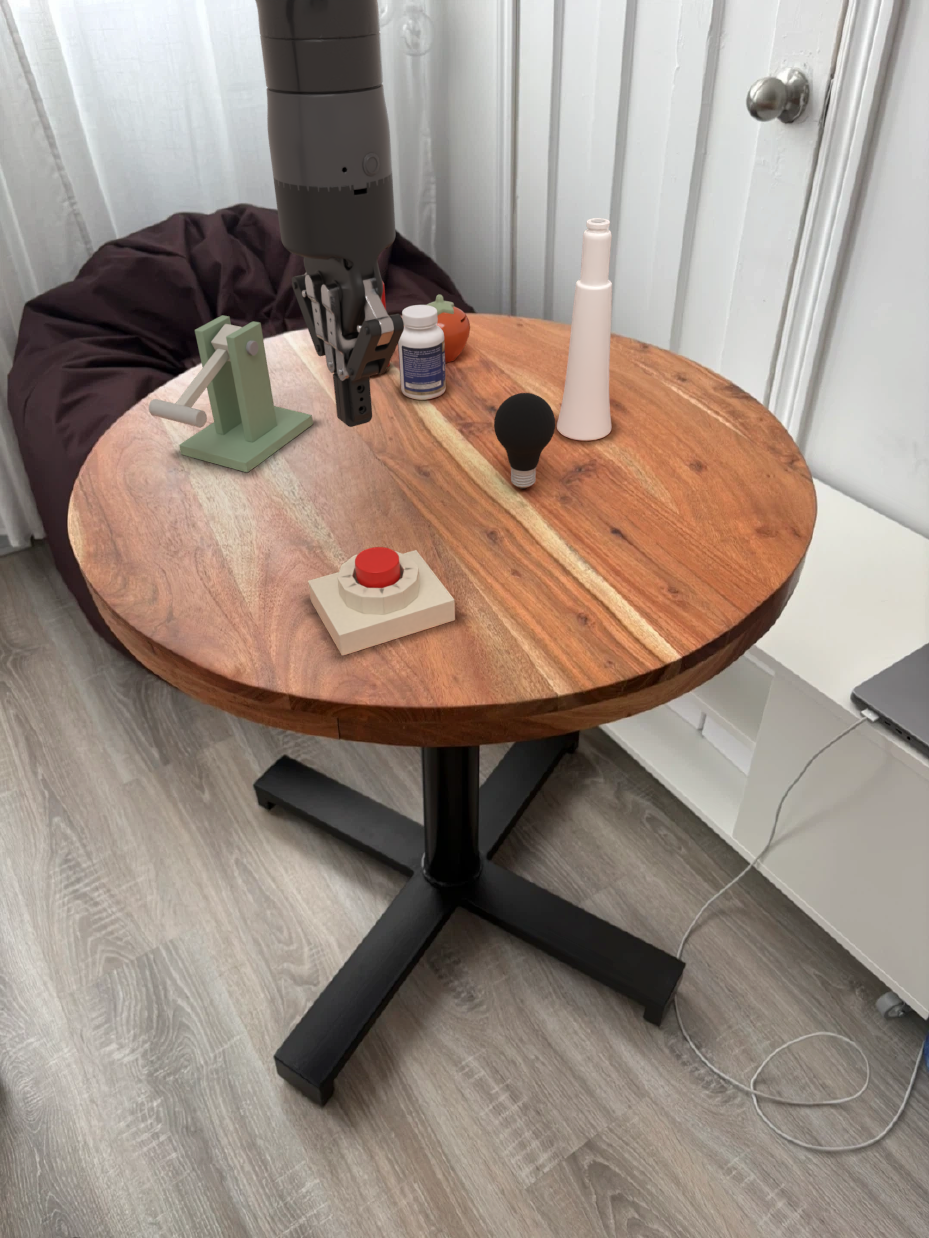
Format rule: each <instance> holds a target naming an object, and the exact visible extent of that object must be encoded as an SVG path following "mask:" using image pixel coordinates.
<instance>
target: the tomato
mask: <svg viewBox="0 0 929 1238" xmlns="http://www.w3.org/2000/svg"><path fill="white" fill-rule="evenodd" d="M426 305H428V306H432V307H434V308H436V309H437V317H438V322H437V324H436V325H437V326H439V327H440V328H441V329H442V331H443V333H444V343H445V364H446V363H451V362H454V361H455V360H456V359H457V358H458V357H459V356H460V355H461V354H462V353H463V351H464V349H465V348H466V345H467V343H468V340H469V337H470V332H471V322H470V320H469V318H468V315H467V314H466V313H465V312H464V310H462V309H460V308H459V307H457V306H455V304H454V302H452V301H448V300H444V296H443V295H442V294H439V293H438V294H437V295H436V297H435V300H433V301H431V302H429V303H427V304H426Z"/></svg>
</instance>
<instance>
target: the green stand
mask: <svg viewBox="0 0 929 1238" xmlns="http://www.w3.org/2000/svg"><path fill="white" fill-rule="evenodd" d="M225 324H229V325H232V323H231V317H230V316H229V315H228V316H227V315H219V317H216V318H214V319H212V320H211V321H209V322H207V323H205V324H203V325H201V326H199V327H198V328H196V329H194V334H195V339H196V343H197V347H198V353H199V357H200V362H201V366H202V367H201V368H203V367H204V365H205V364H206V363H207V362H208V360H209V359H210V358H211V356H212V355H213V354H214V353H215V349H214V347H213V345H212V343H211V341H212V340H213V339H214V337H215V336H216V335H217V334H218V332H219V331H220V330H221V328H222V327H223V326H224V325H225ZM241 327H242V328H240V329H239V330H237V331H235V332H233V333H231V334H230V335H228V336H226V340H227V345H228V351H229V356H230V361H231V362H230V361H226V363H225V364H224V365H223V367H222V368H221V369H220V370H219V372H218V373H217V374H216V376H215V377H214V378H213V380H212V381H211V382H210V384H209V385H208V386H207V388H206V391H207V395H208V401H209V404H210V410H211V414H212V419H213V421H212V423H210V424H209V425H207V426H205V427H204V428H203V429H201V430H200V431H198V432H196V433H195V434H193V435H192V436H190V437H188V438H187V439H185V440H184V441H183V442H181V443H180V444H178V447H179V451H180V455H182V456H186V457H189V458H193V459H196V460H200V461H203V462H207V463H211V464H214V465H218V466H221V467H225V468H229V469H233V470H237V471H241V472H244V473H249V472H250V471H253V469H254V468H256V467H258V466H259V465H260V464H261V463H262V462H264V461H265V460H266V459H268V458H269V457H271V456H272V455H273V454H275V453H276V452H278V451H279V450H280V449H281V448H283V447H284V446H286V445H287V444H289V443H290V442H291V441H293V440H294V439H295V438H296V437H298V436H299V435H301V434H302V433H304V432H305V431H306V430H307V429H308V428H310V427H312V425H313V424H314V421H313V415H312V414H310V413H305V412H301V411H298V410H293V409H289V408H285V407H281V406H277V405H275V403H274V397H273V391H272V386H271V378H270V373H269V366H268V359H267V355H266V354H267V353H266V347H265V340H264V335H263V329H262V323H261V322H259V321H251V322H249V323H248V324H246V325H244V326H241Z"/></svg>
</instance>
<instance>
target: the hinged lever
mask: <svg viewBox="0 0 929 1238" xmlns="http://www.w3.org/2000/svg"><path fill="white" fill-rule="evenodd" d="M242 327H243V326H238V325H235V324H234V325H233V324H231V325H229V324H225V325H224V326H223V327H222V328H221V330H220V331H219V332H218V334H217V335H216V336H215V337H214V339H213V340H212V341H211V343H212V345H213V347H214V349H215V353H214V354H213V355H212V356H211V358H210V359H209V360H208V362H207V363H206V364H205V365H204V367H201V369H200V371H198V373H197V374H196V376H195V377H194V378H193V380H192V381H191V382H190V383H189V385H188V386H187V387H186V389H185V390H184V392H183V393H182V394H181V395H180V397H178V399H177V400H176V402H175V403H174V402H171V401H166V400H163V399H159V398H153V399H151V400H150V402H149V404H148V412H149V414H150V415H151V416H153V417H157V418H161V419H165V420H169V421H172V422H176V423H180V424H183V425H187V426H192V427H196V428H203V427H205V425H206V424H207V420H208V417H207V412H206V411H204V410H203V409H198V408H196V407H195V408H194V407H193V406H194V405H195V404H196V403H197V401H198V399H199V398H200V397H201V396H202V395H203V393H204V392H205V391H206V390H207V386H208V385H209V384H210V382H211V381H212V380H213V378H214V377H215V376H216V374H217V373H218V372H219V370H220V369H221V368H222V367H223V365H224V364H225V363H226V361H230V356H229V351H228V345H227V340H226V336H228V335H230V334H231V333H233V332H235V331H237V330H239V329H240V328H242ZM230 362H231V361H230Z"/></svg>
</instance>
